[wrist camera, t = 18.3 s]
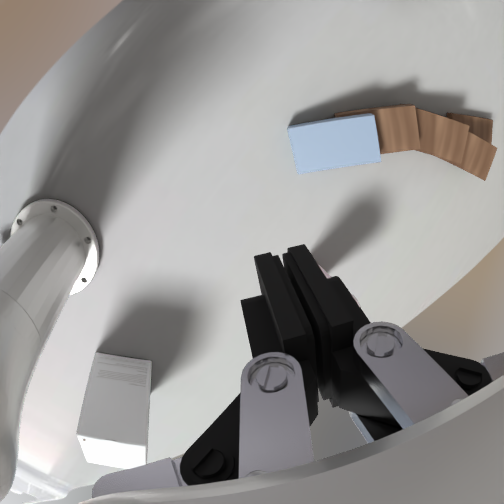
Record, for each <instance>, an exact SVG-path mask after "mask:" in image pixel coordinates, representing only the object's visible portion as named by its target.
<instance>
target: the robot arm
mask: <svg viewBox="0 0 504 504" xmlns="http://www.w3.org/2000/svg"><path fill="white" fill-rule="evenodd" d="M55 206H56V207H55ZM88 237H89V238H90V239H89V238H88ZM254 260H255V265H256V269H257V274H258V279H259V284H260V289H261V293H262V295H260V296H256V297H252V298H248V299H244V300H241V305H242V310H243V315H244V319H245V324H246V329H247V333H248V338H249V343H250V347H251V352H252V356H253V359H252V360H251V361H250V362H248V363H247V364H246V366H245V367H244V369H243V371H242V375H241V393H240V394H239V395H238V396H237V397H236V398H235V399H234V401H233V402H232V403H231V404H230V405H229V406H228V407H227V408H226V409H225V410H224V412H223V413H222V414H221V415H220V416H219V417H218V418H217V419H216V420H215V421H214V422H213V424H212V425H211V426H210V427H209V428H208V429H207V430H206V431H205V432H204V433H203V434H202V435H201V436H200V437H199V438H198V439H197V440H196V441H195V442H194V444H193V445H192V446H191V447H190V448H189V449H188V450H187V451H186V452H185V454H184V455H183V457H181V458H177V459H174V460H172V459H171V458H170V457H169V458H166V459H163V460H160V461H156V462H153V463H149V464H146V465H142V466H138V467H135V468H131V469H127V470H123V471H119V472H114V473H110V474H107V475H105V476H102V477H101V478H100V479H99V480H98V481H97V482H96V483H95V485H94V487H93V491H92V499H89V500H86V501H83V502H81V503H78V504H504V352H503V353H500V354H497V355H494V356H490V357H487V358H484V359H482V361H481V363H479V362H476V361H474V360H470V359H466V358H461V357H457V356H452V355H448V354H444V353H439V352H435V351H431V350H427V349H423V348H421V347H420V346H419V345H418V344H417V343H416V342H415V341H414V340H413V339H412V338H411V337H410V336H409V335H408V334H407V333H406V332H405V331H404V330H403V329H402V328H400V327H399V326H397V325H395V324H392V323H389V322H373V323H370V321H369V320H368V318H367V317H366V315H365V314H364V312H363V311H362V309H361V308H360V307H359V305H358V304H357V302H356V301H355V299H354V298H353V296H352V295H351V293H350V292H349V291H348V289H347V288H346V286H345V285H344V283H343V282H342V281H341V279H340V278H339V277H338V276H335V277H331V278H326V276H325V275H324V273H323V271H322V270H321V268H320V267H319V265H318V264H317V262H316V261H315V259H314V258H313V256H312V255H311V253H310V252H309V250H308V249H307V247H306V246H305V245H304V244H303V245H299V246H295V247H290V248H288V253H284V254H283V263H284V267H283V265H282V262H281V260H280V258H279V256H278V255H276V256H272V254H271V252H269V253H265V254H261V255H257V256H254ZM98 264H99V246H98V241H97V238H96V235H95V233H94V231H93V229H92V227H91V225H90V224H89V222H88V221H87V220H86V219H85V217H84V216H83V215H82V214H81V213H80V212H79V211H78V210H76V209H75V208H73V207H72V206H70V205H69V204H67V203H64V202H62V201H59V200H54V199H41V200H37V201H34V202H32V203H31V204H29V205H27V206H26V207H25V208H24V209H22V210H21V211H20V213H19V214H18V215H17V216H16V218H15V220H14V222H13V225H12V228H11V234H10V238H9V239H8V240H7V241H6V242H5V243H4V244H3V245H2V246H1V247H0V501H2V500H3V499H4V498H5V496H6V495H7V494H8V492H9V490H10V488H11V486H12V484H13V481H14V477H15V473H16V467H17V461H18V450H19V433H20V422H21V415H22V410H23V405H24V400H25V397H26V393H27V390H28V387H29V384H30V381H31V379H32V376H33V373H34V371H35V368H36V366H37V363H38V361H39V359H40V357H41V354H42V352H43V350H44V348H45V345H46V343H47V341H48V339H49V337H50V334H51V332H52V330H53V328H54V326H55V324H56V322H57V320H58V318H59V316H60V313H61V311H62V309H63V307H64V305H65V304H66V302H67V300H68V298H69V296H70V294H73V293H76V292H79V291H80V290H82V289H84V288H85V287H86V286H87V285H88V284H89V283H90V282H91V280H92V278H93V277H94V275H95V273H96V270H97V268H98ZM318 388H319V391H320V393H321V396H322V398H323V400H326V399H330V402H331V404H332V407H336V406H339V407H340V408H342V409H345V410H347V411H349V413H350V416H351V418H352V420H353V421H354V423H355V424H356V426H357V427H358V429H359V430H360V432H361V433H362V435H363V436H364V438H365V439H366V441H367V442H368V444H366V445H363V446H360V447H357V448H355V449H352V450H349V451H346V452H343V453H340V454H337V455H334V456H331V457H327V458H324V459H321V460H317V461H314V456H313V448H312V441H311V433H310V426H311V424H312V423H313V421H314V420H315V418H316V417H317V415H318V405H317V402H319V398H318Z"/></svg>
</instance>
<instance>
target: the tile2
mask: <svg viewBox="0 0 504 504" xmlns="http://www.w3.org/2000/svg"><path fill="white" fill-rule="evenodd" d="M368 113H371V114H373V115H374V117H375V123H376V129H377V136H378V142H379V149H380V154H385V153H393V152H400V151H408V150H416V149H420V141H419V132H418V124H417V117H416V110H415V106H414V105H411V104H403V105H393V106H384V107H376V108H368V109H360V110H353V111H346V112H340V113H334V114H335V118H338V117H345V116H352V115H360V114H368Z"/></svg>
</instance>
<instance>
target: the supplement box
mask: <svg viewBox="0 0 504 504" xmlns="http://www.w3.org/2000/svg"><path fill="white" fill-rule="evenodd" d="M151 368H152V362H151V361H149V360H142V359H135V358H128V357H122V356H115V355H109V354H104V353H98V352H96V353H95V356H94V360H93V363H92V367H91V371H90V375H89V379H88V383H87V387H86V391H85V396H84V400H83V405H82V409H81V414H80V419H79V423H78V428H77V433H76V434H77V436H78V439H79V442H80V444H81V447H82V449H83V452H84V455H85V458H86V460H87V462H90V463H95V464H100V465H106V466H112V467H118V468H125V469H131V468H135V467H138V466H142V465H146V464H147V451H148V427H149V408H150V392H151Z"/></svg>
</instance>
